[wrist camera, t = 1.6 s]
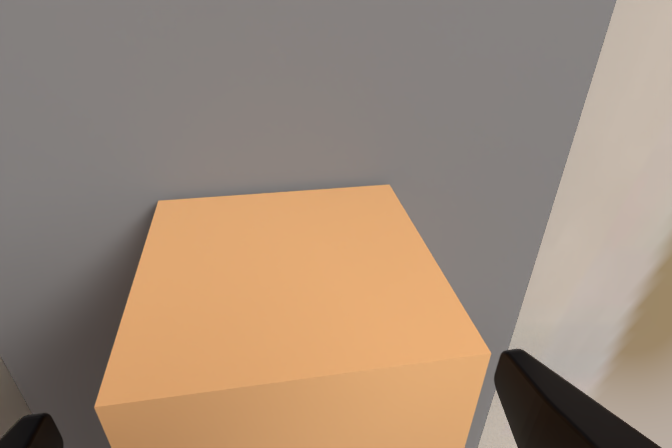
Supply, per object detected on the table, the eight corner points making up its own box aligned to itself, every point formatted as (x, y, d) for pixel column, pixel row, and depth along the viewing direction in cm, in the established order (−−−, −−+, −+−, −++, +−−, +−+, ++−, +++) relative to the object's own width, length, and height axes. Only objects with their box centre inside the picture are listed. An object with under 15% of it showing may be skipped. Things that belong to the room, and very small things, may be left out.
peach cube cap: (373, 364, 13) (433, 556, 9) (200, 388, 13) (180, 608, 8) (389, 184, 10) (491, 353, 6) (157, 200, 9) (94, 407, 5)
